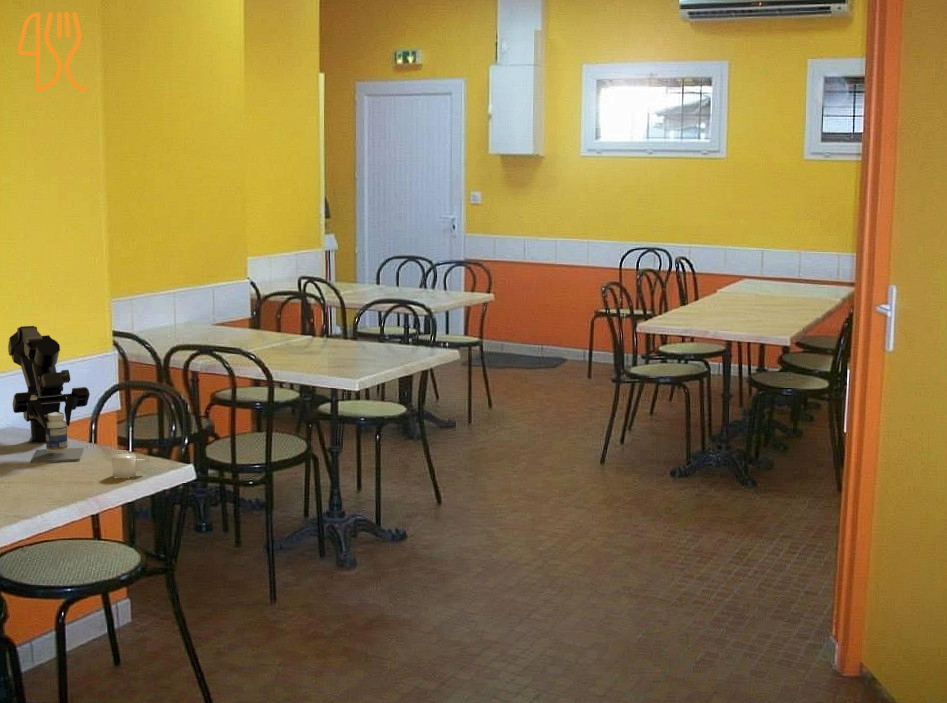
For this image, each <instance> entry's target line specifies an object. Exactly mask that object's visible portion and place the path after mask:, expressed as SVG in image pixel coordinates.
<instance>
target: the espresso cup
mask: <svg viewBox="0 0 947 703" xmlns="http://www.w3.org/2000/svg"><path fill="white" fill-rule="evenodd" d="M111 467H112V468H111V470H112V471H111V472H112V478H113V477H117V478H128V477H133V478H135V477H137V472H146V459H145V458H137V459H136V454H133V453H117V454H113V455H112V456H111ZM134 476H135V477H134ZM128 479H129V478H128Z"/></svg>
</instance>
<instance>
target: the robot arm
mask: <svg viewBox="0 0 947 703" xmlns="http://www.w3.org/2000/svg"><path fill="white" fill-rule="evenodd" d="M7 348H8V350H7V351H8V355H9V357H10V356H11V359H12V361H13V363H14V364H17V365H18V366H20V368H21V370H22V374H23V378H24V381H25V384H26V388H27V391H26V392H16V393H15V394H14V395H13V399H12V410H13V413H15V414H19V413H23V420H25V421H26V422H27V423H29V422H30V438H29V440H28V444H39V443H41V442H46V430H45V429H46V428H47V424H46V423H47V422H48V421H49V420H48V414H49V413H54V412H60V410H61V403H64V404H65V405H64V411H63V412H64V418H65V421H66V423H67V427H70V424H71V416H72V412H73V411H75V410H77V408H81V407H86V406H87V405H88V403H89V400H90V399H89V398H90V395H91V394H90V390H89V389H88V387H86V386H83V387H72V389H71V393H62V392H63V391H64V384H67V383H70V382H71V375H70V371H69V369H61V371H60V372H57V368H56V365H57V363H58V359H59V354H60V352H61V345H60V344H59V342H58V341H57V340H56V339H53V338H52V337H51V336H50V335H49V334H47V335H42V334H41V333H40V332H39V331H38V327H37V326H34V325H24V326H20V327H17V330H16V332H15V333H14V334H12V335H11V336H10V337H9V338H8V344H7ZM41 444H42V443H41Z"/></svg>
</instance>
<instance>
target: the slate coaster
mask: <svg viewBox="0 0 947 703" xmlns="http://www.w3.org/2000/svg"><path fill="white" fill-rule="evenodd" d="M83 453H84V447H68V449H67V450H65V451H62V452H49V451H47V448H45V449H36V450H35V452H34V453H33V455H32V457H31V459H30V464H42V463H43V462H44V463H45V464H46V463H47V464H48V463H62V462H63V463H66V462H65V461H69V462H80V461H81V459H82V456H83Z"/></svg>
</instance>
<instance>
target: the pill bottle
mask: <svg viewBox="0 0 947 703" xmlns="http://www.w3.org/2000/svg"><path fill="white" fill-rule="evenodd" d="M64 419H65V412H54V413H49V414H48V420H49V421H48V422H47V423H46V424H47V428H46V429H45V430H46V443H45V445H46V446H45V447H46V448H45V449H47V451H49V452H62V451H65V450H67V449H68V448H69V441H68V440H69V439H68V438H69V436H68V426H67V423H66V420H64Z"/></svg>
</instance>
